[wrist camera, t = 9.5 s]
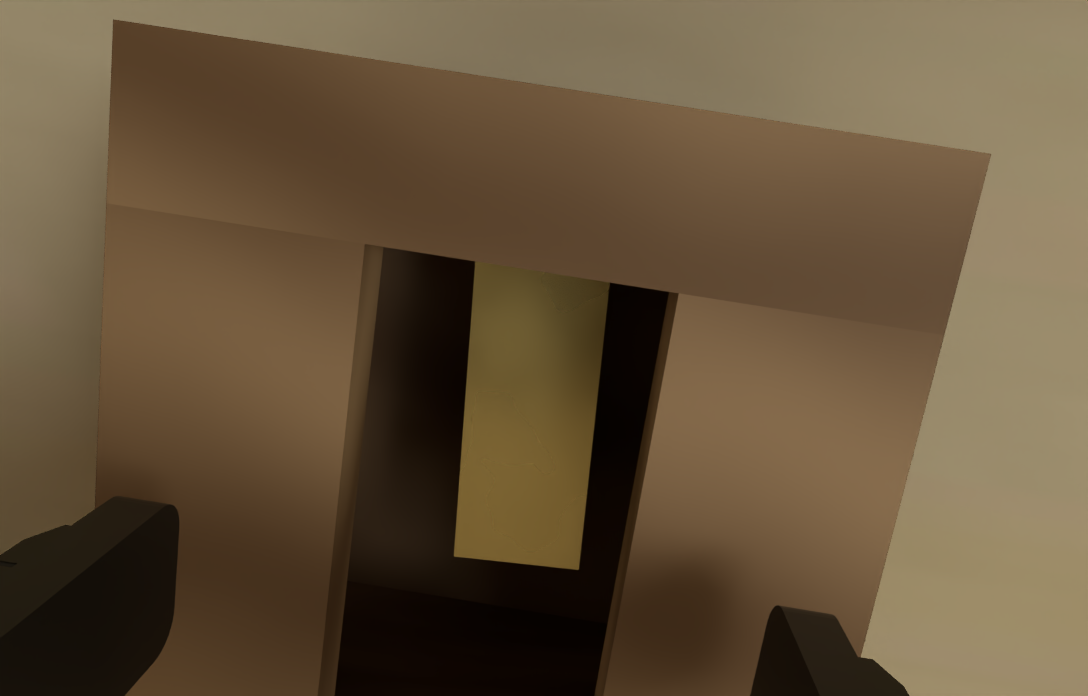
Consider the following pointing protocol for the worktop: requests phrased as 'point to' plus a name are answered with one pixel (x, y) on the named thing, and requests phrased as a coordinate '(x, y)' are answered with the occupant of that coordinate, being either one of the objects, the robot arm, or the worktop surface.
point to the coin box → (442, 361)
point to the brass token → (529, 415)
